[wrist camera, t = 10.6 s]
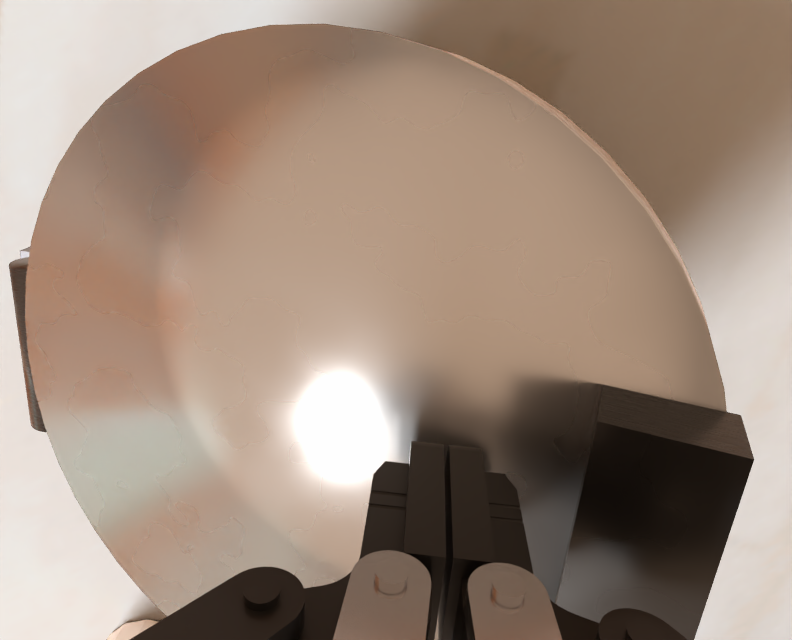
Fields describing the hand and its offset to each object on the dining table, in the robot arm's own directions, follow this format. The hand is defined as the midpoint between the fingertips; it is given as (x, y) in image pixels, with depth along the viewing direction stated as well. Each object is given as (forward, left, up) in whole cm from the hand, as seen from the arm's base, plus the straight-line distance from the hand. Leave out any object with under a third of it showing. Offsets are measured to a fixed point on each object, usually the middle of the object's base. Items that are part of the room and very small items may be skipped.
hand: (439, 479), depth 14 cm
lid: (+3, 0, -3) cm, 4 cm away
